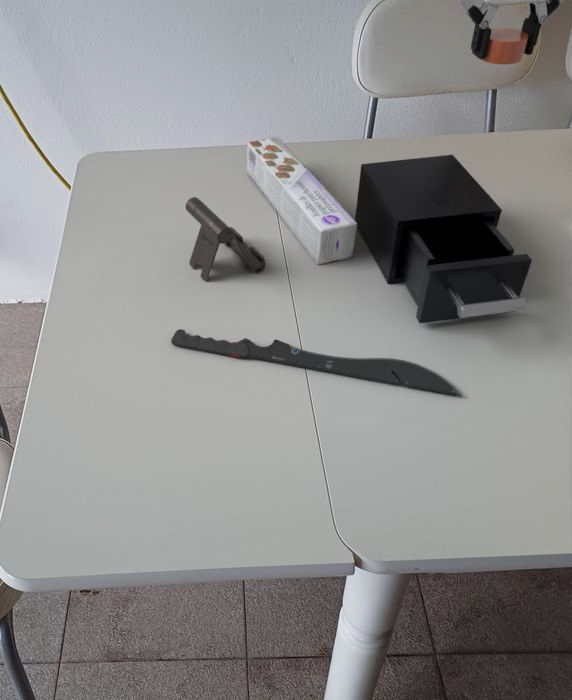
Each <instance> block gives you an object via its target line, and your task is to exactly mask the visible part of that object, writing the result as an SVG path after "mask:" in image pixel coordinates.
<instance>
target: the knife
mask: <svg viewBox="0 0 572 700" xmlns="http://www.w3.org/2000/svg"><path fill="white" fill-rule="evenodd" d="M170 342H171V345H173V346H177V347H181V348H187V349H193V350H197V351H203V352H209V353H214V354H220V355H226V356H230V357H234V358H241V359H246V358H252V359H258V360H261V361H262V360H264V361H268V362H273V363H279V364H284V365H290V366H295V367H301V368H306V369H312V370H317V371H321V372H327V373H332V374H333V373H334V374H338V375H342V376H347V377H354V378H360V379H365V380H371V381H374V382H375V381H376V382H382V383H387V384H392V385H398V386H401V385H403V386H404V387H408V388H414V389H419V390H424V391H429V392H435V393H441V394H447V395H452V396H462V394H461V392H459V390H458V389H457V388H456V387H455V386H454V385H453V384H452V383H450V382H449V381H448V380H447V379H446V378H444V377H443V376H441V375H440V374H438V373H436V372H435V371H433V370H432V369H429V368H427V367H425V366H423V365H420V364H418V363H415V362H412V361H408V360H403V359H398V358H390V357H360V358H359V357H344V356H335V355H328V354H323V353H317V352H312V351H308V350H305V349H301V348H298V347H295V346H292V345H291V344H289V343H287V342H284V341H282V340H279V339H274V340H272V343H271V344H269V345H266V346H259V345H257V344H255V343H254V342H253V341H252V340H251V339H249V338H247V337H244V338H243V339H241V340H238V341H233V342H230V341H228V340H226V339H220V340H218V339H214V338H213V337H210V336H209V337H202V336H200V335H199V334H195V335H189V334H188V333H186V330H185V329H182V328H181V329H177V330H176V331H175V332H174V334H173V336H172V338H171V340H170Z"/></svg>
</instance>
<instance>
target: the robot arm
mask: <svg viewBox="0 0 572 700" xmlns="http://www.w3.org/2000/svg"><path fill="white" fill-rule="evenodd" d="M564 1H565V0H481V2H480V3H479V5H478V6H477V5H476V3H475V2H474V0H457V2H458V4H459V5H460V6H461V7H462V8H463V9H464V11H465V13H466V14H467V15H468V17H469V18H470V19H471V21H472V23H473V24H474V28H473V33H472V37H471V38H472V39H471V43H470V49H471V53H472V54H473V55H474V56H475V57H476V58H477V59H479V60H481V59H484V58H486V54H487V50H488V45H489V41H490V36H491V31H492V30H491V29H492V28H491V27H490V24H491V23H492V20H493V19H494V17H495V15H496V14H497V12H498V10H499V8H500V6H501V7H502V6H503V7H504V6H513V5H514V6H515V5H526V4H527V8H528V17H525V18H524V20H523V21H522V22H523V23H522V27H521V29H520V30H521V31H524V32H526V33H527V34H528V35H529V38H528V42H527V46H526V50H525V54H524V55H527V56H531V55H532V54H533V51H534V49H535V46H536V45H537V43H538V40H539V36H540V31H541V28H542V24H544V23H546V22H547V21H548V17H549V16H550V15H551V14H552V13H554V12H555V11H556V10H557V9H558V8H559V7H560V4H562V3H563V2H564Z"/></svg>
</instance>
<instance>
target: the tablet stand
mask: <svg viewBox="0 0 572 700" xmlns="http://www.w3.org/2000/svg"><path fill="white" fill-rule="evenodd" d="M185 210H186V211H187V213H188V214H190V215H191V216H192V217H193V218H194V219H195V220H196V221H197V223H198V224H200V228H199V231H198V234H197V237H196V239H195V244H194V246H193V250H192V252H191V256H190V258H189V263H188V264H189V266H190V267H191V268H192V269H193V270H195V269H196V267H197V265H198V264H199V265H200V266H201V272H200V278H201V279H202V280H203V281H205V282H206V281H208V279H209V276H210V274H211V271H212V268H213V266H214V262H215V259H216V255H217V253H218V251H219V248H220V244H221V245H225V246H226V247H227V248H228V249H230V251H231V252H233V253H234V254H235V255H236V256H237V257H238V258H239V260H240V261H242V262H243V263H244V265H246V267H247V268H248V269H249V270H250V271H251V272H253V273H254V274H260V273H262V272H263V271H264V269H265V268H266V257H265V256H264V255H263V254H262V253H261V252H259V250H257V249H256V248H255V247H254V246H249V245H247V243H245V241H244V237H243V236H242V235H241V234H240V233H239V232H238V231H237V230H236V229H235V228H234V227H233V226H231V227H230V226H229V225H228V224H226V223H225V222H224V221H223V220H222V219H221V218H220V217H219V216H218V215H216V213H215V212H213V210H211V209H210V208H209V207H208V205H207V204H205V203H204V202H203V201H201V199H200V198H198V197H196V196H193V197H190V198H188V199H187V201H186V203H185Z"/></svg>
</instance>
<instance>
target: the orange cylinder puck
mask: <svg viewBox="0 0 572 700" xmlns="http://www.w3.org/2000/svg"><path fill="white" fill-rule="evenodd" d="M490 29H491V30H492V31H491V36H490V41H489V45H488V50H487V54H486V58H484V59H480V60H481V61H483V62H486V63H489V64H494V65H513V64H514V65H515V64H518V63H521V62H522V61H523V60H524V57H525V55H526V54H525V50H526V46H527V42H528V38H529V35H528V34H527V33H526V32H524V31H521V30H522V29H516V28H512V27H511V28H510V27H496V28H490Z"/></svg>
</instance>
